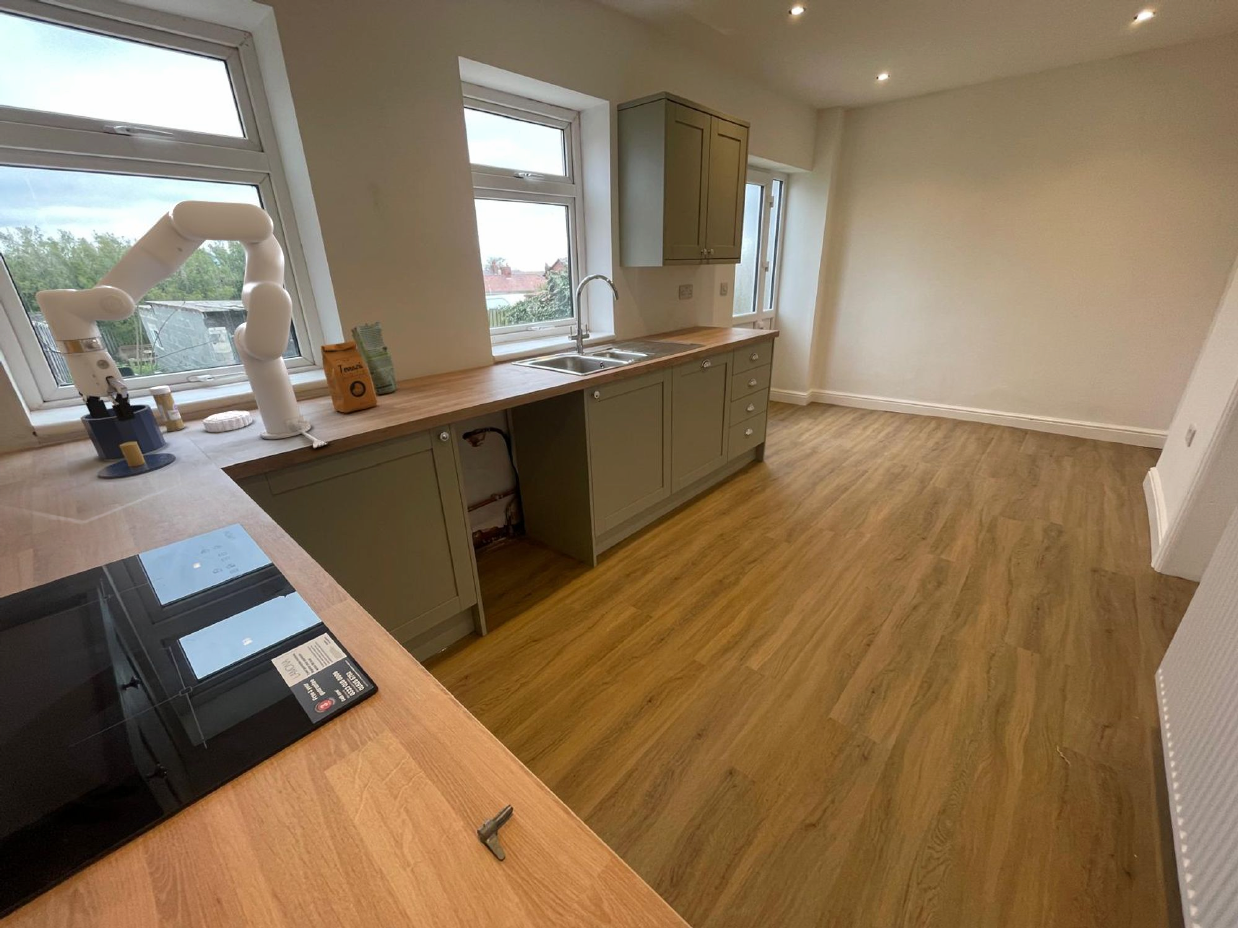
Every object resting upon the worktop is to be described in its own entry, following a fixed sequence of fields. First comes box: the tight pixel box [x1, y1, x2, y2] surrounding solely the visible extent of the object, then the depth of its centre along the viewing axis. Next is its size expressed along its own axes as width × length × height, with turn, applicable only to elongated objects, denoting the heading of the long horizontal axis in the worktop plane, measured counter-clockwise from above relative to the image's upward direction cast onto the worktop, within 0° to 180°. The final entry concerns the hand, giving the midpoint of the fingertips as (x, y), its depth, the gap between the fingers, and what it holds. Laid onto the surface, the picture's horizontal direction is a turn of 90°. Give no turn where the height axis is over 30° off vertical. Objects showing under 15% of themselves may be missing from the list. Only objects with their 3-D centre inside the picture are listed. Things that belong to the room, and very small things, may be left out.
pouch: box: [350, 321, 398, 395], centre depth 183 cm, size 11×12×25 cm
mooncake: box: [202, 410, 253, 433], centre depth 155 cm, size 12×12×4 cm
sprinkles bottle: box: [149, 385, 186, 432], centre depth 153 cm, size 5×5×13 cm
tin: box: [79, 404, 167, 461], centre depth 135 cm, size 14×14×12 cm
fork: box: [301, 431, 329, 449], centre depth 139 cm, size 3×20×2 cm, turn 45°
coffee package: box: [320, 339, 378, 413], centre depth 163 cm, size 10×12×22 cm
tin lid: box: [97, 442, 176, 480], centre depth 125 cm, size 15×15×7 cm
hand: (114, 418), depth 120 cm, fingers open, 9 cm apart
